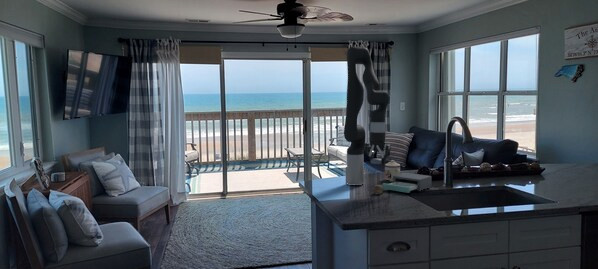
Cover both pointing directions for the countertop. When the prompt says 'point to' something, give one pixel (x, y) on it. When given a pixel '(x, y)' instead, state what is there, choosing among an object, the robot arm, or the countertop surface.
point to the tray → (400, 186)
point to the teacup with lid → (391, 170)
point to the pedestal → (378, 189)
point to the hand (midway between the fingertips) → (377, 164)
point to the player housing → (414, 180)
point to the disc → (376, 161)
